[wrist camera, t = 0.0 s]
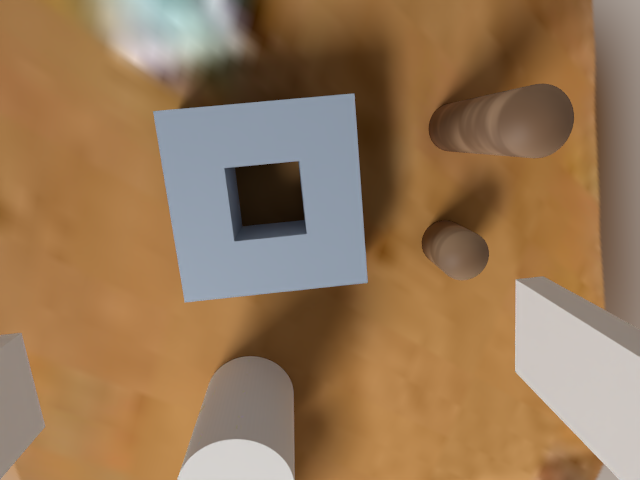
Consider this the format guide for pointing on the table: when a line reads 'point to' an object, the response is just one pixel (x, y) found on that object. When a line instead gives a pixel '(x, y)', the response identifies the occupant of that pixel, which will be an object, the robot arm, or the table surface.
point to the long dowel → (506, 123)
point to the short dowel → (455, 250)
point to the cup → (244, 425)
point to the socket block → (223, 201)
